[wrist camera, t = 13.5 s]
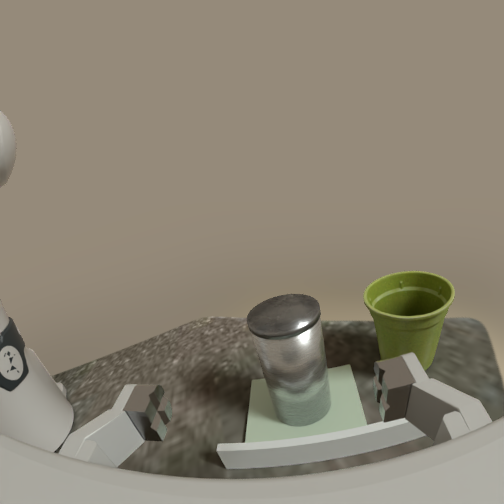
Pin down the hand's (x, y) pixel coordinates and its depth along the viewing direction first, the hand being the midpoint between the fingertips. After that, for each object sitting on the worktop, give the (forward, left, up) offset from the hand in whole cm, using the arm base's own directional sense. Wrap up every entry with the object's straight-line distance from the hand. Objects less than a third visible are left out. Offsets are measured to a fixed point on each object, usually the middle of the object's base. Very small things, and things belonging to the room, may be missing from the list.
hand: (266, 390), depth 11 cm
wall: (+3, +7, -15) cm, 17 cm away
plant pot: (+12, +17, -16) cm, 26 cm away
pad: (0, +13, -15) cm, 20 cm away
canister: (0, +13, -15) cm, 20 cm away
